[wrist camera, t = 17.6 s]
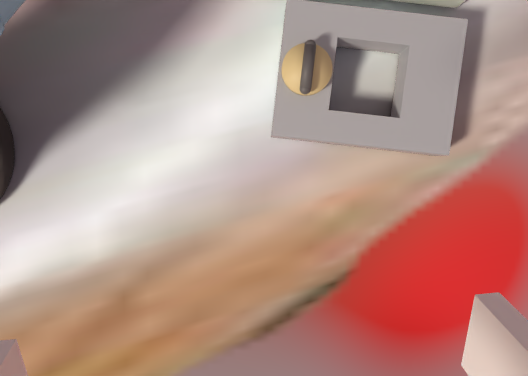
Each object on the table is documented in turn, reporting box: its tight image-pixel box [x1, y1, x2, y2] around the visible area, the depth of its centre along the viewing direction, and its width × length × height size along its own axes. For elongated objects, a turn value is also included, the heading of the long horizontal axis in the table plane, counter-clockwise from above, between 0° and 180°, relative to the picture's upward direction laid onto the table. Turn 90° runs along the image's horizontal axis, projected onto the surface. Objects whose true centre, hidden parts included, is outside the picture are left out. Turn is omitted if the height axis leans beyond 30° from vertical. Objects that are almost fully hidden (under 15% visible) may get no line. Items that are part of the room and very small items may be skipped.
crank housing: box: [271, 0, 468, 156], centre depth 38 cm, size 16×12×5 cm
